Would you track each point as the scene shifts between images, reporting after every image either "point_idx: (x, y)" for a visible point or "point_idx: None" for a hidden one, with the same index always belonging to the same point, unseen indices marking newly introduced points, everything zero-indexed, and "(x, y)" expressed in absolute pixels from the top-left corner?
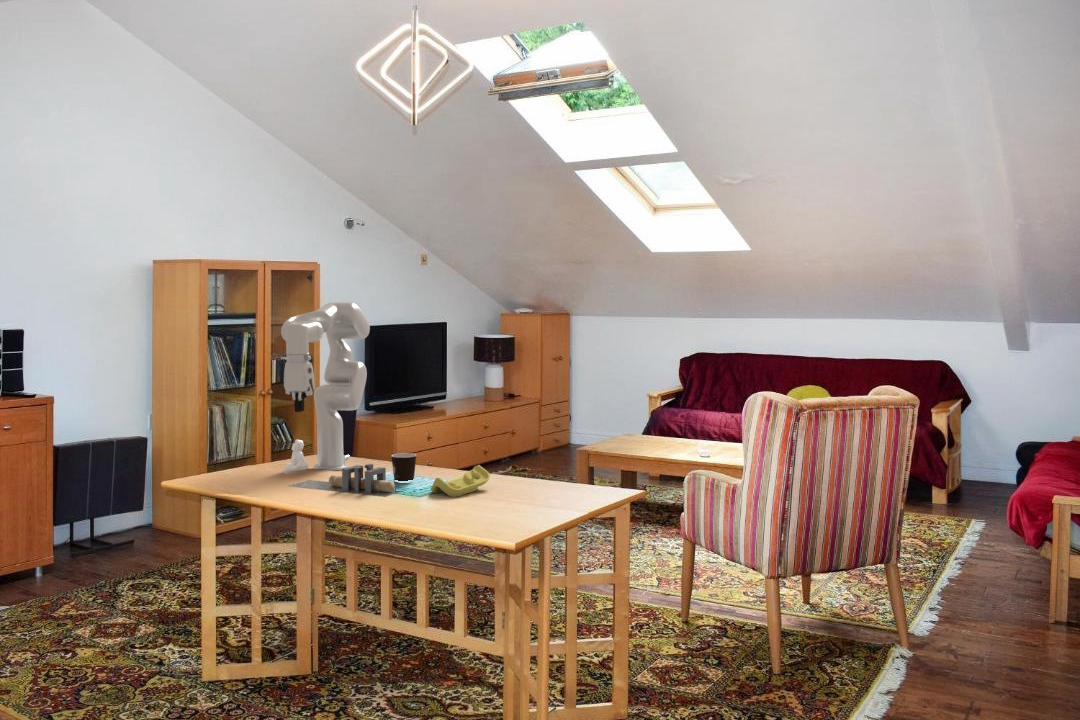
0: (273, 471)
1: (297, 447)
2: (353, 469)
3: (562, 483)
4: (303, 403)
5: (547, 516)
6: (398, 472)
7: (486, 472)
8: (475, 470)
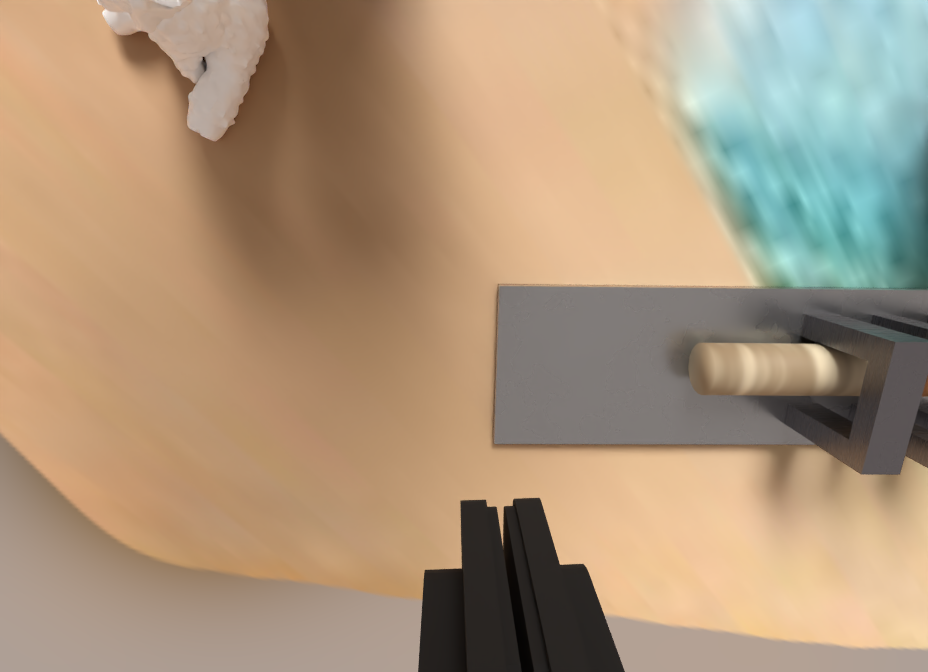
0: (106, 110)
1: (164, 11)
2: (905, 426)
3: None
4: (613, 668)
5: None
6: None
7: None
8: None
